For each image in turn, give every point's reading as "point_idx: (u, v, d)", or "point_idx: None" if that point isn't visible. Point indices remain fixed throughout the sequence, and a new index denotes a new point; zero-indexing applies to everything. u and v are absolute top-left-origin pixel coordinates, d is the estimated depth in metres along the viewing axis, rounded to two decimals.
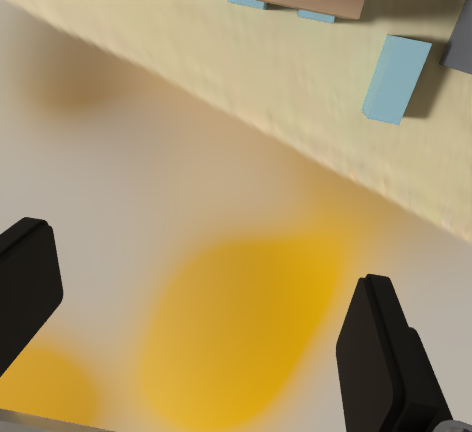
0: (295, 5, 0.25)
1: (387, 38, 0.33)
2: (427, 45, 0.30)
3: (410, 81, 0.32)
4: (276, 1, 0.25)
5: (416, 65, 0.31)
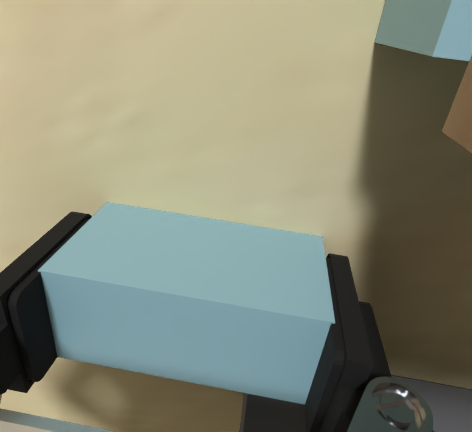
0: None
1: (314, 249, 0.11)
2: (301, 397, 0.09)
3: (190, 370, 0.09)
4: None
5: (242, 379, 0.09)
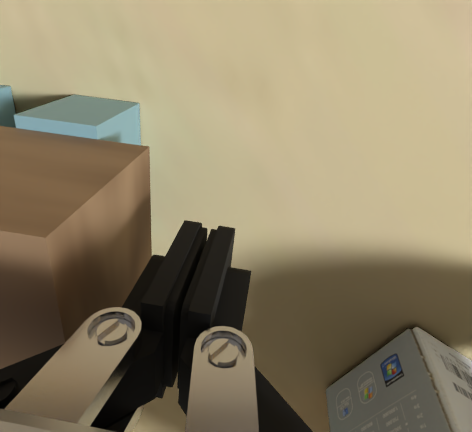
0: None
1: None
2: None
3: None
4: None
5: None
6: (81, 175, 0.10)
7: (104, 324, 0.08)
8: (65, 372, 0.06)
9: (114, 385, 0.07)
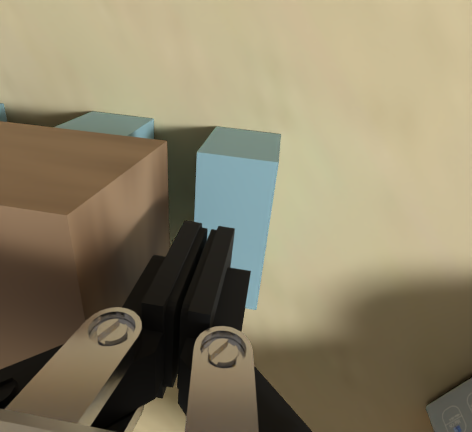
0: None
1: None
2: None
3: None
4: None
5: None
6: (101, 164, 0.10)
7: (104, 324, 0.08)
8: (65, 372, 0.06)
9: (114, 385, 0.07)
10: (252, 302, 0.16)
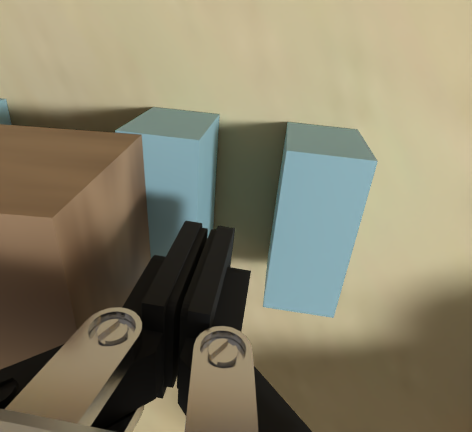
0: None
1: None
2: None
3: None
4: None
5: None
6: (78, 162, 0.10)
7: (104, 324, 0.08)
8: (65, 372, 0.06)
9: (115, 385, 0.07)
10: (330, 309, 0.15)
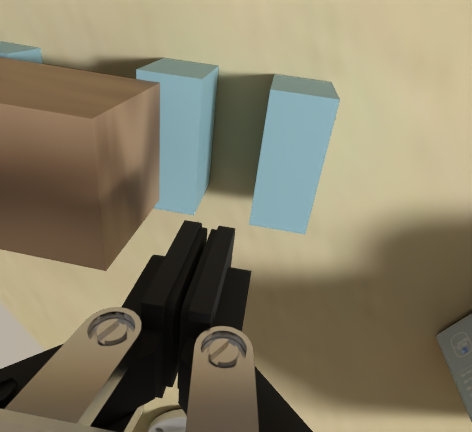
0: None
1: None
2: None
3: None
4: None
5: None
6: (110, 93, 0.14)
7: (104, 324, 0.08)
8: (65, 372, 0.06)
9: (114, 385, 0.07)
10: (302, 227, 0.19)
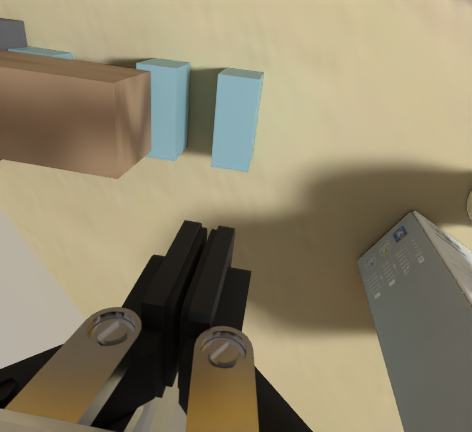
0: None
1: None
2: None
3: None
4: (12, 69, 0.21)
5: None
6: (121, 74, 0.23)
7: (104, 324, 0.08)
8: (65, 372, 0.06)
9: (114, 385, 0.07)
10: (245, 167, 0.28)
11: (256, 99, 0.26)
